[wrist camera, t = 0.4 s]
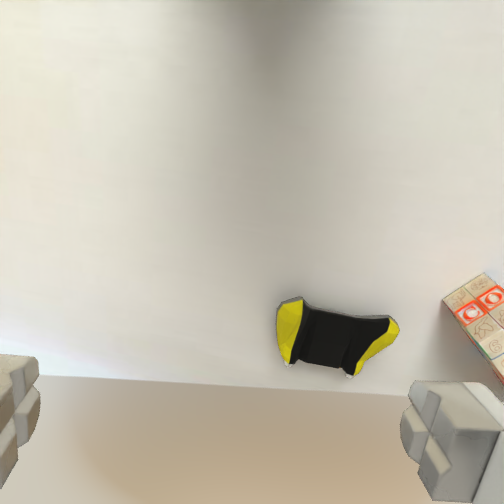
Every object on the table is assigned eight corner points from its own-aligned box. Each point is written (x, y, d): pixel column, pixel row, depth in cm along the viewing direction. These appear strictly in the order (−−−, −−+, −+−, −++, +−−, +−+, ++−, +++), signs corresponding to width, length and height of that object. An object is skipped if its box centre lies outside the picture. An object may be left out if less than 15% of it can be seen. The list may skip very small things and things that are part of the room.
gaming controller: (281, 278, 52) (260, 343, 56) (286, 301, 47) (263, 371, 51) (392, 302, 54) (365, 363, 58) (409, 327, 49) (377, 391, 53)
